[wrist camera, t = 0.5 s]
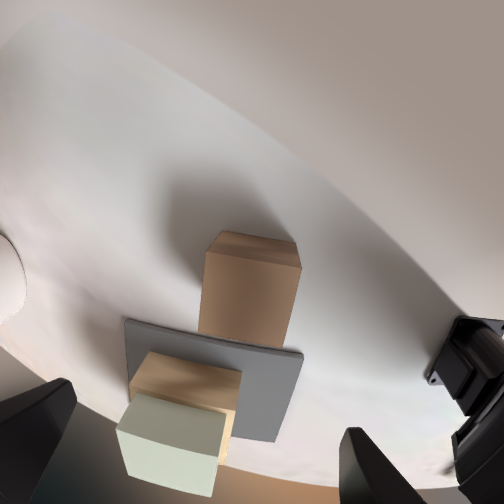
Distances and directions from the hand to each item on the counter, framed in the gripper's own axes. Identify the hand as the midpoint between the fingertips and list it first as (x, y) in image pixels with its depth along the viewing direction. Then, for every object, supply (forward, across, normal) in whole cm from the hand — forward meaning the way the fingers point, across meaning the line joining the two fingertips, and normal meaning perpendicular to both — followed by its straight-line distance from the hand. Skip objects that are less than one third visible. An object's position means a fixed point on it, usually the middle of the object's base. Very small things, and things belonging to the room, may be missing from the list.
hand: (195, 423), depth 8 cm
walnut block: (+12, 0, -1) cm, 12 cm away
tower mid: (+7, +4, +10) cm, 13 cm away
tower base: (+11, +4, +10) cm, 15 cm away
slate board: (+12, +3, +10) cm, 15 cm away
